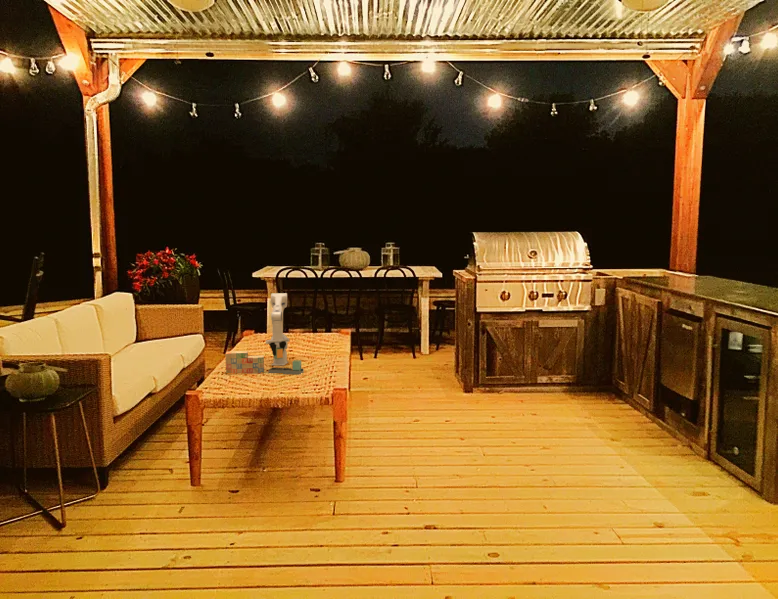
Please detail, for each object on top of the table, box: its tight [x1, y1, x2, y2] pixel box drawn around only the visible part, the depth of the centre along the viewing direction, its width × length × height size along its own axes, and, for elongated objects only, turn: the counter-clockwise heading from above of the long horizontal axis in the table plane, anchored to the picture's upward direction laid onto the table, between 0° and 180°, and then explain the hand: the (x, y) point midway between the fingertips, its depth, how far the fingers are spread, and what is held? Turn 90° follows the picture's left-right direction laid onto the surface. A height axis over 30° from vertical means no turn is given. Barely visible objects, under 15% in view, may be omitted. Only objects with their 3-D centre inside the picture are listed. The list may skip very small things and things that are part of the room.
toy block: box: [272, 347, 283, 359], centre depth 378 cm, size 4×5×6 cm
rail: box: [267, 359, 305, 375], centre depth 371 cm, size 6×19×7 cm, turn 82°
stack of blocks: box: [224, 350, 265, 374], centre depth 372 cm, size 21×6×12 cm, turn 98°
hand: (277, 354), depth 379 cm, fingers closed on toy block, 4 cm apart
